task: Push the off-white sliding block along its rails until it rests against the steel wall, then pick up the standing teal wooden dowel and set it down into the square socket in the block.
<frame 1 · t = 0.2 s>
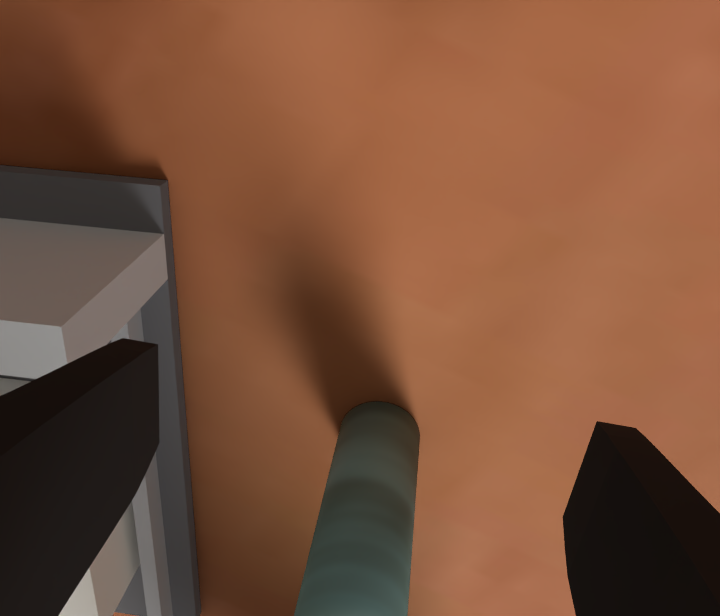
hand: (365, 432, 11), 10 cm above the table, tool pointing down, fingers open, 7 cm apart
dowel: (379, 434, 23), on the table
sliding block: (3, 500, 24), point 2 cm above the table, slide at 0.0 cm
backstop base: (31, 414, 25), on the table
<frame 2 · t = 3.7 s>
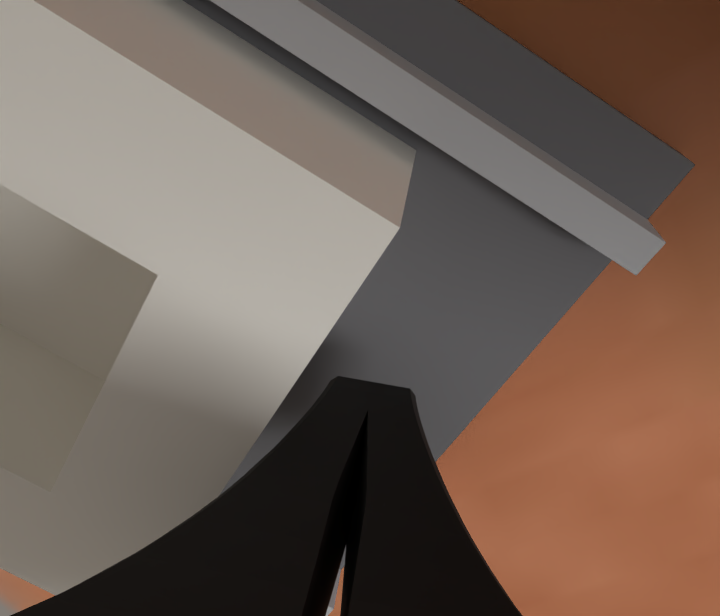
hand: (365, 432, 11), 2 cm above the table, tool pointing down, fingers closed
sliding block: (31, 261, 10), point 2 cm above the table, slide at 0.1 cm, touching gripper
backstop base: (5, 151, 12), on the table
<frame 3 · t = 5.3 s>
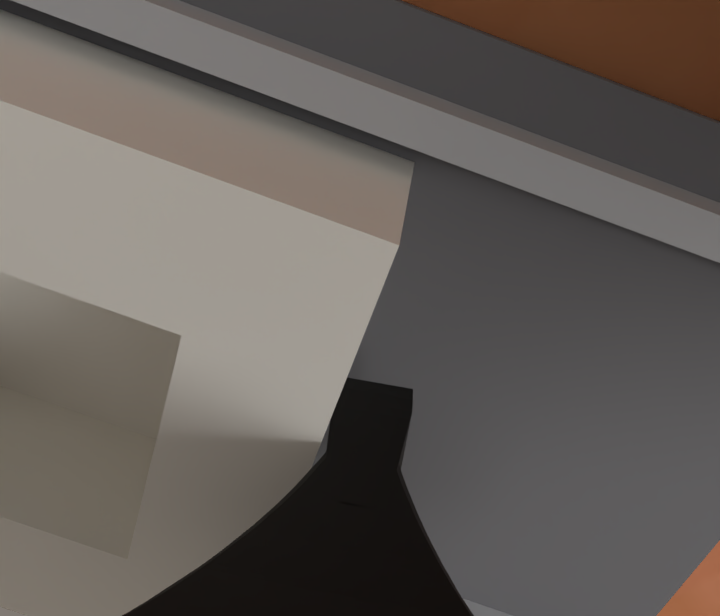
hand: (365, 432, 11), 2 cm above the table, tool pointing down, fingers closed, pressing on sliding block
sliding block: (72, 342, 10), point 2 cm above the table, slide at 4.5 cm, touching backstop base, gripper
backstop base: (265, 324, 12), on the table
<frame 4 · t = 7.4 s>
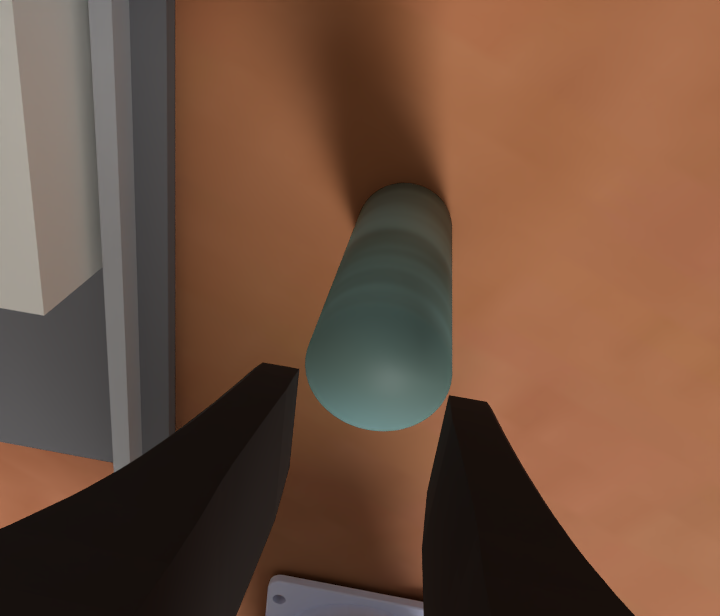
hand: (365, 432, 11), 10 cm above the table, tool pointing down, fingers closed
dowel: (404, 229, 20), on the table
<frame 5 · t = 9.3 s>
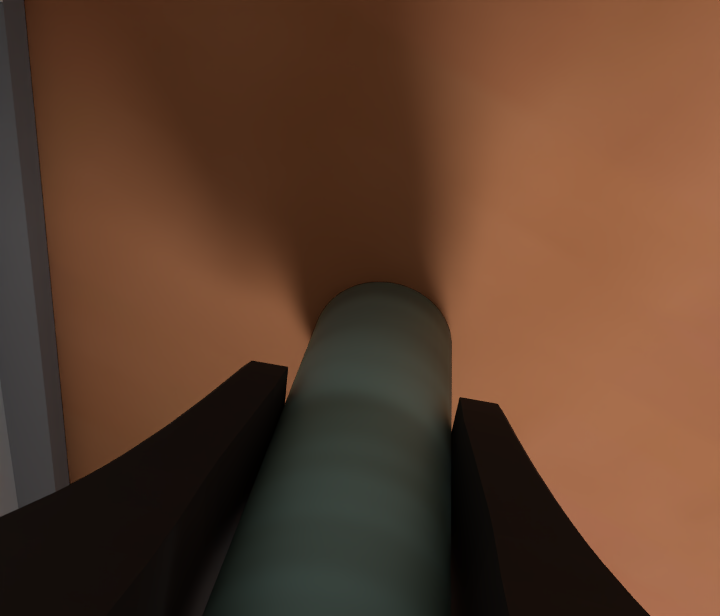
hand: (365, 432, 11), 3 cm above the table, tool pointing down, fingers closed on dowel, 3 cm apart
dowel: (382, 344, 14), on the table, touching gripper
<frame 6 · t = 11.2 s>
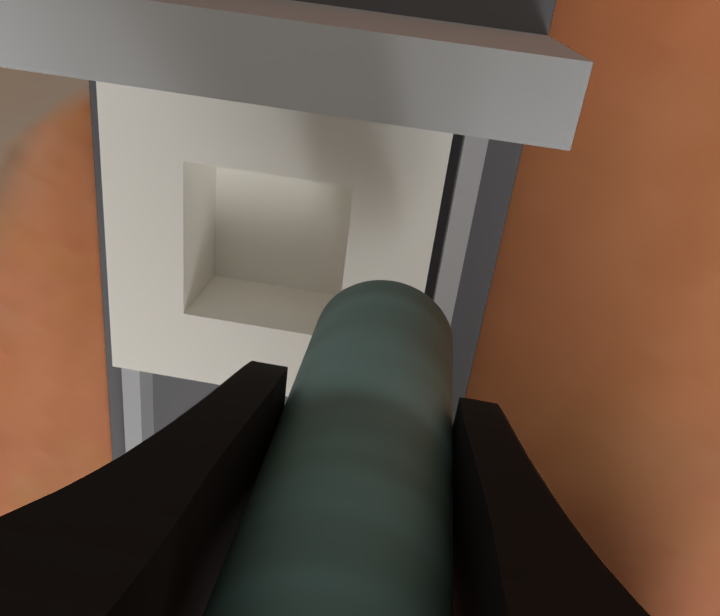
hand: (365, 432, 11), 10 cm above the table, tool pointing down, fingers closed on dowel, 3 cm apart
dowel: (383, 343, 14), point 7 cm above the table, touching gripper
sliding block: (279, 230, 18), point 2 cm above the table, slide at 4.5 cm, touching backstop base
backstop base: (292, 279, 21), on the table
when the fingers open (5 cm above the table, at t = 13.0 s): dowel stays where it is, resting on sliding block.
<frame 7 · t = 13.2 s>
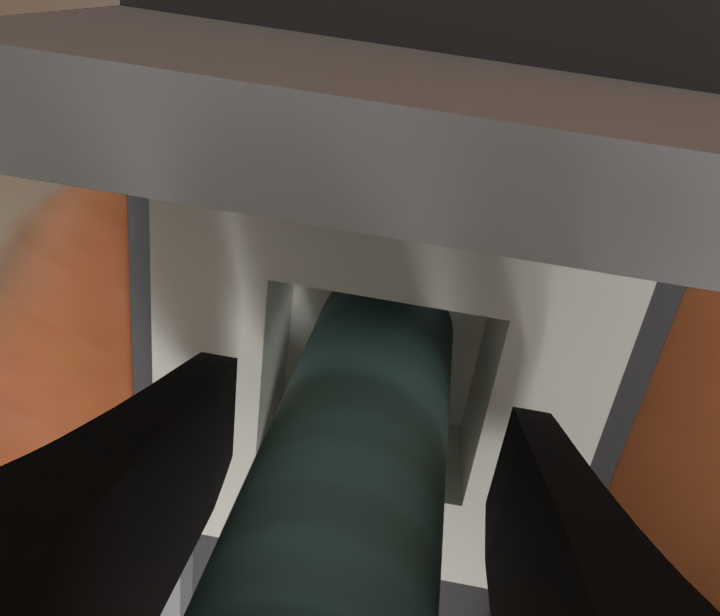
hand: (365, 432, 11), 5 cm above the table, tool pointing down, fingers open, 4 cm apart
dowel: (385, 332, 14), point 2 cm above the table, touching sliding block
sliding block: (380, 351, 13), point 2 cm above the table, slide at 4.5 cm, touching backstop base, dowel
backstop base: (376, 389, 17), on the table
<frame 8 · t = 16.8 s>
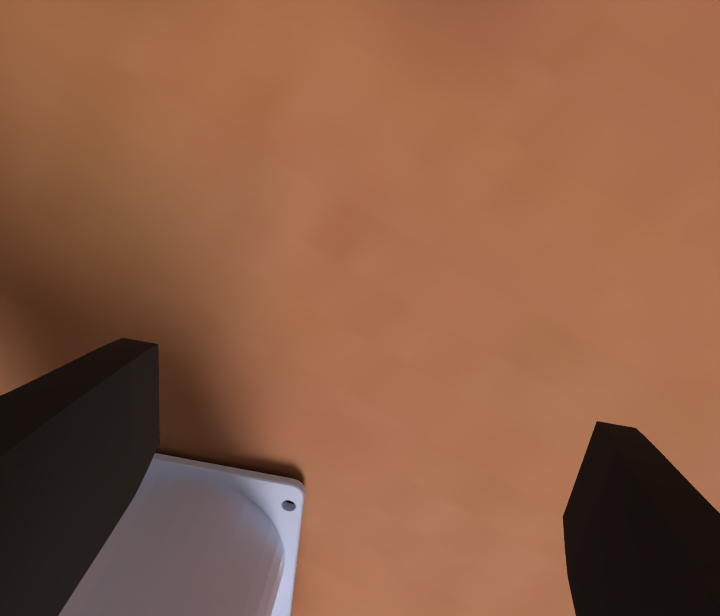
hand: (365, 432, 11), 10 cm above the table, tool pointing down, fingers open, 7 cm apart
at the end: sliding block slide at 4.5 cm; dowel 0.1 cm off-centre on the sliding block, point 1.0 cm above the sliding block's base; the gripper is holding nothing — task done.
